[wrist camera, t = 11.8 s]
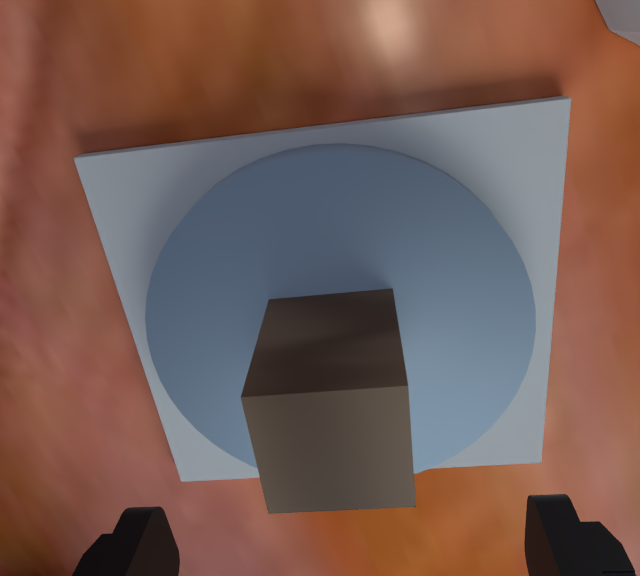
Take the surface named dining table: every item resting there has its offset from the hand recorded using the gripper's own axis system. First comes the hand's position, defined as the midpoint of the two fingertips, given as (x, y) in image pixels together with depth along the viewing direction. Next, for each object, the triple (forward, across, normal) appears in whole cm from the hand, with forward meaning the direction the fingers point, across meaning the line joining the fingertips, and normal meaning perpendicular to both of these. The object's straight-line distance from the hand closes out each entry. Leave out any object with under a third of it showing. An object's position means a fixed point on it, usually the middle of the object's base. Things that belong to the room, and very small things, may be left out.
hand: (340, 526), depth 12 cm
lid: (+8, 0, 0) cm, 8 cm away
